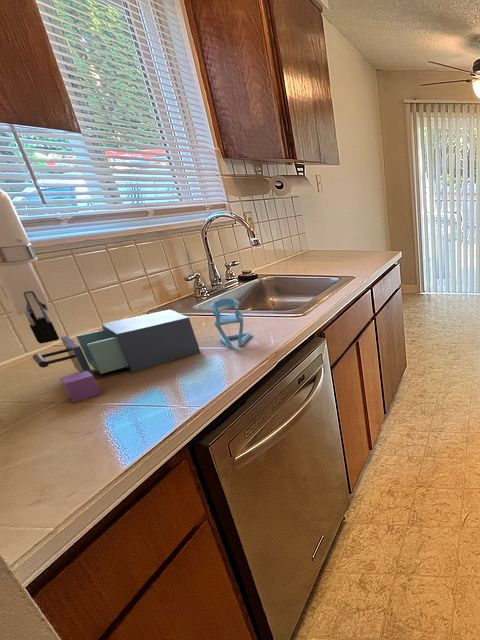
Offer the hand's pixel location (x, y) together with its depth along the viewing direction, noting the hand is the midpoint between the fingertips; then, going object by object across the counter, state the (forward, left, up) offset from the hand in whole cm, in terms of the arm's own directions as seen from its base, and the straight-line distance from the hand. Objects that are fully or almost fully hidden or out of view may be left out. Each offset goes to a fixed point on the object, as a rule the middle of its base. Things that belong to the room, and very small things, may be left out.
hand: (48, 340), depth 87 cm
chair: (+33, -7, -10) cm, 36 cm away
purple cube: (0, -12, -10) cm, 16 cm away
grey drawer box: (+17, 0, -10) cm, 20 cm away
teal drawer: (+6, 0, -9) cm, 11 cm away
